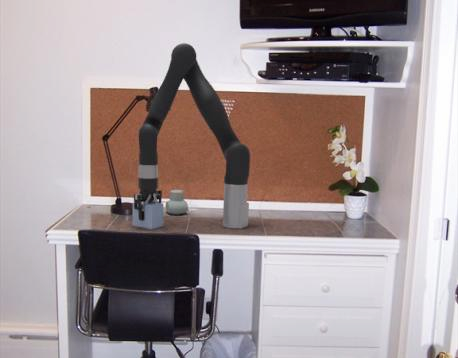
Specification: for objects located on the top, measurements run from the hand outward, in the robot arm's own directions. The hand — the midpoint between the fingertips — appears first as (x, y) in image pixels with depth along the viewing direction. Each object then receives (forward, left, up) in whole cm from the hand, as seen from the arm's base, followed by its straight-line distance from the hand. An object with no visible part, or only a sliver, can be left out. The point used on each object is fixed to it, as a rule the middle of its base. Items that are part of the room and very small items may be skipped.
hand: (148, 218), depth 197 cm
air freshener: (+6, -26, -4) cm, 27 cm away
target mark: (0, 0, -3) cm, 3 cm away
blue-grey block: (0, 0, -3) cm, 3 cm away
